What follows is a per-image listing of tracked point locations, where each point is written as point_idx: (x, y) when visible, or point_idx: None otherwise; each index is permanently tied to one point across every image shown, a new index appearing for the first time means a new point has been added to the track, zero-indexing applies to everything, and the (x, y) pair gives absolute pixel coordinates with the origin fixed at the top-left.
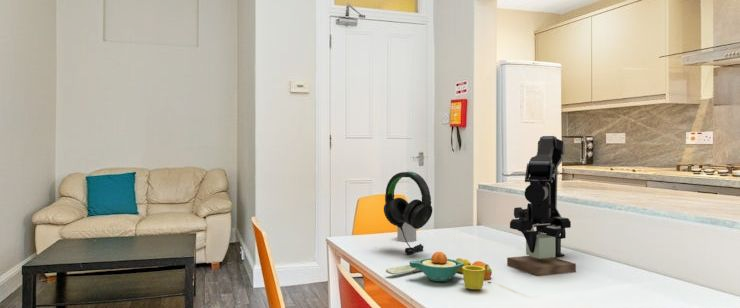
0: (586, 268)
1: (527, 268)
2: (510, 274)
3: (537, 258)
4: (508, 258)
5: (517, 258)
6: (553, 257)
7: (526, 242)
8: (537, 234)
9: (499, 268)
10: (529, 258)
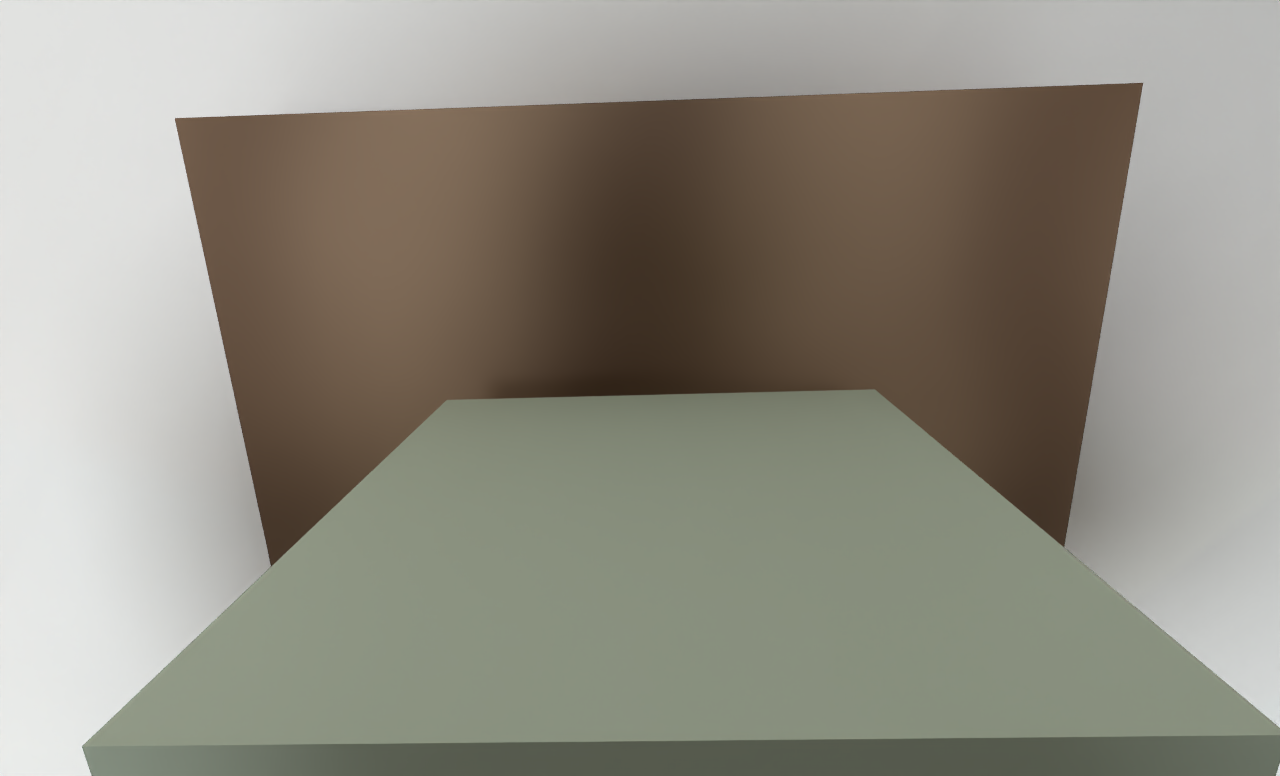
0: (1263, 644)
1: None
2: (98, 591)
3: (727, 382)
4: (192, 162)
5: (350, 257)
6: (1081, 405)
7: (307, 557)
8: (936, 743)
9: (71, 263)
10: (580, 333)
